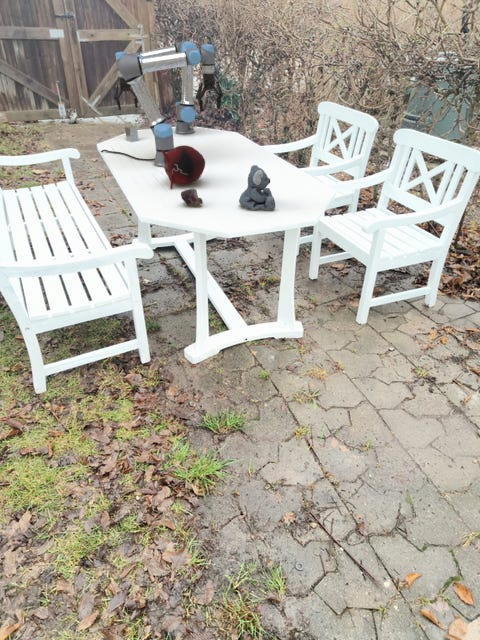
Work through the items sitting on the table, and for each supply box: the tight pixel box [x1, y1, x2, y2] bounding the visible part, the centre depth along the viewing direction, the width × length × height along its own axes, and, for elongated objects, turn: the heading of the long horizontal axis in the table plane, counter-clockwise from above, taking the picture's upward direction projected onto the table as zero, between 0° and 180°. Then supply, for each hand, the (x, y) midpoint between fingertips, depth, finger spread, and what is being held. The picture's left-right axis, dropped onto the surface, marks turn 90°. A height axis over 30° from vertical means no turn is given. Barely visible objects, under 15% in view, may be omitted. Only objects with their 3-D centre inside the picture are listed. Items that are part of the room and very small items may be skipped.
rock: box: [180, 188, 204, 207], centre depth 229 cm, size 12×9×10 cm
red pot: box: [161, 145, 206, 190], centre depth 256 cm, size 21×24×25 cm
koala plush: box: [238, 164, 276, 211], centre depth 224 cm, size 17×18×20 cm
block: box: [124, 125, 139, 142], centre depth 347 cm, size 6×9×10 cm
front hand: (210, 109), depth 294 cm, fingers open, 13 cm apart
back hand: (128, 108), depth 337 cm, fingers open, 13 cm apart
